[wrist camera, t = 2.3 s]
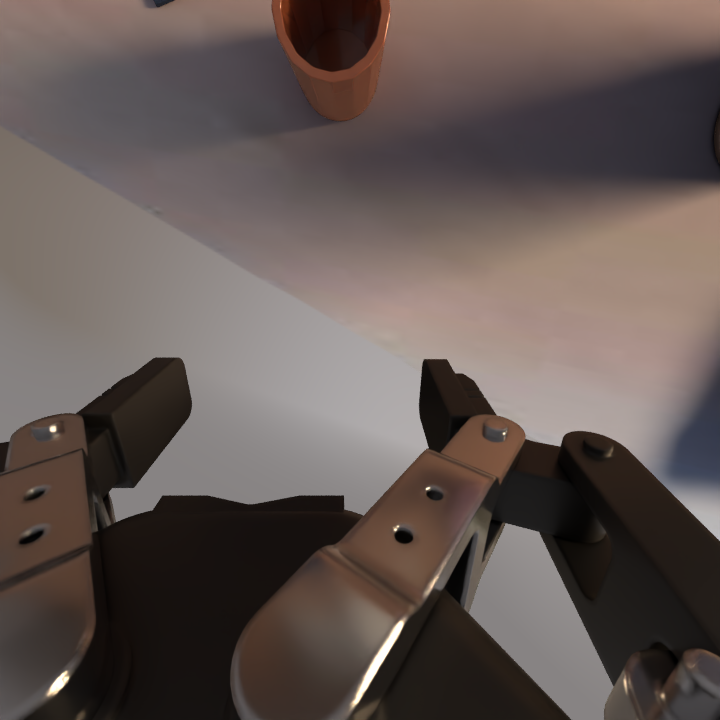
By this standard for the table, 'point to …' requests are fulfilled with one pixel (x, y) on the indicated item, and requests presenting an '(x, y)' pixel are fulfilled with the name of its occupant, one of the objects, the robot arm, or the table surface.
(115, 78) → the table surface
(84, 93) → the table surface
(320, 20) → the pen cup
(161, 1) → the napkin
